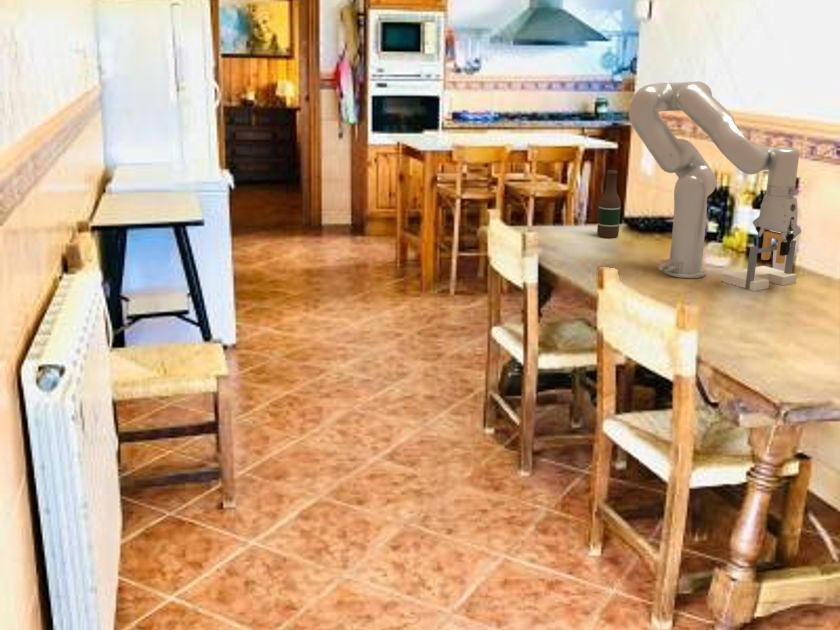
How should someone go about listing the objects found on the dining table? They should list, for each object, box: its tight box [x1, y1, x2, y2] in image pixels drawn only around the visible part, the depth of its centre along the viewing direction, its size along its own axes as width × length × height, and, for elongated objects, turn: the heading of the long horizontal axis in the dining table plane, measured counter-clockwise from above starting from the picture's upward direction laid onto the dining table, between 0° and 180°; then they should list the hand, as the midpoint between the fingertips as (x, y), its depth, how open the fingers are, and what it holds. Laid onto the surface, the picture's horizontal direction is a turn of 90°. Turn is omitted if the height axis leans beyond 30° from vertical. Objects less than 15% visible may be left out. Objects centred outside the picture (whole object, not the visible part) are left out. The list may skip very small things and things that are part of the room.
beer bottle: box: [596, 169, 621, 240], centre depth 318 cm, size 8×8×24 cm
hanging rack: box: [721, 239, 798, 292], centre depth 262 cm, size 18×12×12 cm, turn 120°
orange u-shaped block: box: [760, 230, 787, 264], centre depth 258 cm, size 2×7×8 cm, turn 30°
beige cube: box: [772, 247, 798, 271], centre depth 277 cm, size 7×7×7 cm
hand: (773, 251), depth 258 cm, fingers closed on orange u-shaped block, 6 cm apart
